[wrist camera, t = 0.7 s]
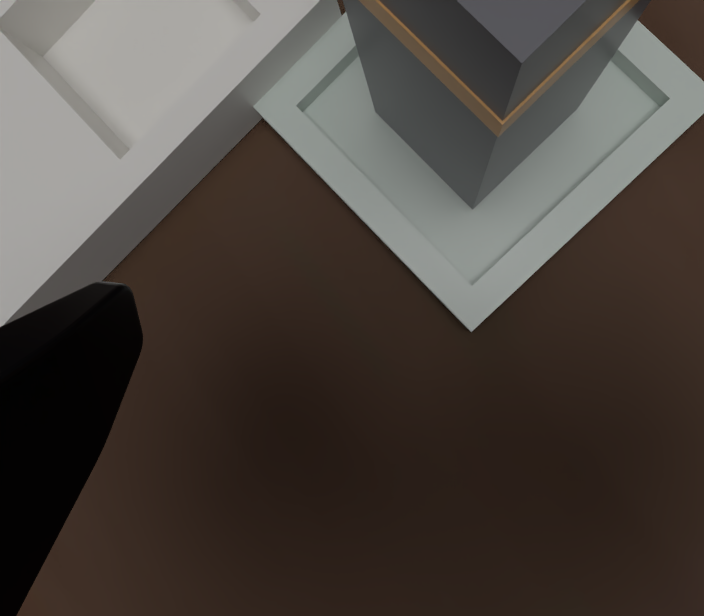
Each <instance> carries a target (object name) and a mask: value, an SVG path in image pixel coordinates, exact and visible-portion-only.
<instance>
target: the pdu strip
mask: <svg viewBox="0 0 704 616" xmlns="http://www.w3.org/2000/svg"><path fill="white" fill-rule="evenodd" d="M341 16H342V15H341V12H340V9H339V5H338V2H337V0H0V327H1V326H3V325H5V324H7V323H10V322H12V321H14V320H16V319H18V318H20V317H22V316H24V315H26V314H28V313H31V312H33V311H35V310H37V309H39V308H41V307H43V306H45V305H47V304H49V303H52V302H54V301H56V300H58V299H60V298H62V297H64V296H66V295H68V294H70V293H73V292H75V291H77V290H79V289H81V288H83V287H85V286H87V285H89V284H91V283H94V282H98V281H102V280H103V279H104V278H105V277H106V276H107V275H108V274H109V273H110V272H111V271H112V270H113V269H114V268H115V267H116V266H117V265H118V264H119V263H120V262H121V261H122V260H123V259H124V258H125V257H126V256H127V255H128V254H129V253H130V252H131V251H132V250H133V249H134V248H135V247H136V246H137V245H138V244H139V243H140V242H141V241H142V240H143V239H144V238H145V237H146V236H147V235H148V234H149V233H150V232H151V231H152V230H153V229H154V228H155V227H156V226H157V225H158V224H159V223H160V222H161V221H162V220H163V218H164V217H165V216H166V215H167V214H168V213H169V212H170V211H171V210H172V209H173V208H174V207H175V206H176V205H177V204H178V203H179V202H180V201H181V200H182V199H183V198H184V197H185V196H186V195H187V194H188V193H189V192H190V191H191V190H192V189H193V188H194V187H195V186H196V185H197V184H198V183H199V182H200V181H201V180H202V179H203V178H204V177H205V176H206V175H207V174H208V173H209V172H210V171H211V170H212V169H213V168H214V167H215V166H216V165H217V164H218V163H219V162H220V161H221V160H222V159H223V158H224V157H225V156H226V155H227V154H228V153H229V152H230V151H231V150H232V149H233V148H234V146H235V145H236V144H237V143H238V142H239V141H240V140H241V139H242V138H243V137H244V136H245V135H246V134H247V133H248V132H249V131H250V130H251V129H252V128H253V127H254V126H255V125H256V124H257V123H258V122H259V121H260V120H261V119H262V117H261V115H260V114H259V113H258V112H257V111H256V110H255V109H254V107H253V106H254V105H255V104H256V103H257V102H258V101H259V100H260V99H261V98H262V97H263V96H264V95H265V94H266V93H267V92H268V91H269V90H270V88H271V87H272V86H273V85H274V84H275V83H276V82H277V81H278V80H279V79H280V78H281V77H282V76H283V75H284V74H285V73H286V72H287V71H288V70H289V69H290V68H291V67H292V66H293V65H294V64H295V63H296V62H297V61H298V60H299V59H300V58H301V57H302V56H303V55H304V54H305V53H306V52H307V51H308V50H309V49H310V48H311V47H312V46H313V45H314V44H315V43H316V42H317V41H318V40H319V39H320V38H321V37H322V36H323V35H324V34H325V33H326V31H327V30H328V29H329V28H330V27H331V26H332V25H333V24H334V23H335V22H336V21H337V20H338V19H339V18H340V17H341Z"/></svg>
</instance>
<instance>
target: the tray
mask: <svg viewBox="0 0 704 616" xmlns="http://www.w3.org/2000/svg"><path fill="white" fill-rule="evenodd" d="M253 107H254V109H255V110H256V111H257V112H258V113H259V114H260V115H261V117H262V118H263V119H264V120H265V121H266V122H267V123H268V124H269V125H270V126H271V127H272V128H273V129H274V130H275V131H276V132H277V133H278V134H279V135H280V136H281V137H282V138H283V139H284V141H285V142H286V143H287V144H288V145H289V146H290V147H291V148H292V149H293V150H294V151H295V152H296V153H297V154H298V155H299V156H300V157H301V158H302V159H303V160H304V161H305V162H306V163H307V164H308V165H309V166H310V167H311V168H312V169H313V170H314V171H315V172H316V174H317V175H318V176H319V177H320V178H321V179H322V180H323V181H324V182H325V183H326V184H327V185H328V186H329V187H330V188H331V189H332V190H333V191H334V192H335V193H336V194H337V195H338V196H339V197H340V198H341V199H342V200H343V201H344V202H345V203H346V204H347V205H348V207H349V208H350V209H351V210H352V211H353V212H354V213H355V214H356V215H357V216H358V217H359V218H360V219H361V220H362V221H363V222H364V223H365V224H366V225H367V226H368V227H369V228H370V229H371V230H372V231H373V232H374V233H375V234H376V235H377V236H378V237H379V238H380V240H381V241H382V242H383V243H384V244H385V245H386V246H387V247H388V248H389V249H390V250H391V251H392V252H393V253H394V254H395V255H396V256H397V257H398V258H399V259H400V260H401V261H402V262H403V263H404V264H405V265H406V266H407V267H408V268H409V269H410V270H411V272H412V273H413V274H414V275H415V276H416V277H417V278H418V279H419V280H420V281H421V282H422V283H423V284H424V285H425V286H426V287H427V288H428V289H429V290H430V291H431V292H432V293H433V294H434V295H435V296H436V297H437V298H438V299H439V300H440V301H441V302H442V303H443V305H444V306H445V307H446V308H447V309H448V310H449V311H450V312H451V313H452V314H453V315H454V316H455V317H456V318H457V319H458V320H459V321H460V322H461V323H462V324H463V325H464V326H465V327H466V328H467V329H468V330H469V331H470V332H472V331H473V330H474V329H475V328H476V327H477V326H478V325H479V324H480V323H482V322H483V321H484V320H485V319H486V318H487V317H488V316H489V315H490V314H491V313H492V312H493V311H494V310H495V309H496V308H497V307H499V306H500V305H501V304H502V303H503V302H504V301H505V300H506V299H507V298H508V297H509V296H510V295H511V294H512V293H513V292H514V291H516V290H517V289H518V288H519V287H520V286H521V285H522V284H523V283H524V282H525V281H526V280H527V279H528V278H529V277H530V276H531V275H533V274H534V273H535V272H536V271H537V270H538V269H539V268H540V267H541V266H542V265H543V264H544V263H545V262H546V261H547V260H548V259H550V258H551V257H552V256H553V255H554V254H555V253H556V252H557V251H558V250H559V249H560V248H561V247H562V246H563V245H564V244H565V243H567V242H568V241H569V240H570V239H571V238H572V237H573V236H574V235H575V234H576V233H577V232H578V231H579V230H580V229H581V228H582V227H584V226H585V225H586V224H587V223H588V222H589V221H590V220H591V219H592V218H593V217H594V216H595V215H596V214H597V213H598V212H599V211H601V210H602V209H603V208H604V207H605V206H606V205H607V204H608V203H609V202H610V201H611V200H612V199H613V198H614V197H615V196H616V195H618V194H619V193H620V192H621V191H622V190H623V189H624V188H625V187H626V186H627V185H628V184H629V183H630V182H631V181H632V180H633V179H635V178H636V177H637V176H638V175H639V174H640V173H641V172H642V171H643V170H644V169H645V168H646V167H647V166H648V165H649V164H650V163H652V162H653V161H654V160H655V159H656V158H657V157H658V156H659V155H660V154H661V153H662V152H663V151H664V150H665V149H666V148H667V147H669V146H670V145H671V144H672V143H673V142H674V141H675V140H676V139H677V138H678V137H679V136H680V135H681V134H682V133H683V132H684V131H686V130H687V129H688V128H689V127H690V126H691V125H692V124H693V123H694V122H695V121H696V120H697V119H698V118H699V117H700V116H701V115H703V114H704V81H702V80H701V79H700V78H699V77H698V76H697V75H696V74H695V73H694V72H693V71H692V70H691V69H690V68H688V67H687V66H686V65H685V64H684V63H683V62H682V61H681V60H680V59H679V58H678V57H677V56H676V55H674V54H673V53H672V52H671V51H670V50H669V49H668V48H667V47H666V46H665V45H664V44H663V43H662V42H660V41H659V40H658V39H657V38H656V37H655V36H654V35H653V34H652V33H651V32H650V31H649V30H648V29H646V28H645V27H644V26H643V25H642V24H641V23H640V22H639V21H638V20H637V21H636V23H635V24H634V26H633V27H632V29H631V30H630V32H629V33H628V35H627V36H626V38H625V39H624V41H623V42H622V44H621V45H620V47H619V48H618V50H617V51H616V53H615V54H614V56H613V57H612V58H611V60H610V61H609V63H608V64H607V66H606V67H605V69H604V70H603V72H602V73H601V75H600V76H599V78H598V79H597V81H596V82H595V84H594V85H593V87H592V88H591V90H590V91H589V92H588V94H587V95H586V97H585V98H584V100H583V101H582V103H581V104H580V106H579V107H578V109H577V110H576V111H575V112H574V113H573V114H571V115H570V116H569V117H568V118H567V119H566V120H565V121H564V122H563V123H562V124H561V125H560V126H559V127H558V128H557V129H556V130H555V131H554V132H553V133H552V134H551V135H550V136H549V137H548V138H547V139H545V140H544V141H543V142H542V143H541V144H540V145H539V146H538V147H537V148H536V149H535V150H534V151H533V152H532V153H531V154H530V155H529V156H528V157H527V158H526V159H525V160H524V161H523V162H522V163H521V164H520V165H518V166H517V167H516V168H515V169H514V170H513V171H512V172H511V173H510V174H509V175H508V176H507V177H506V178H505V179H504V180H503V181H502V182H501V183H500V184H499V185H498V186H497V187H496V188H495V189H494V190H492V191H491V192H490V193H489V194H488V195H487V196H486V197H485V198H484V199H483V200H482V201H481V202H480V203H479V204H478V205H477V206H476V207H475V208H474V209H473V210H472V209H471V208H470V207H469V206H468V205H467V204H466V203H465V202H464V201H463V200H462V199H461V198H460V197H459V196H458V195H457V194H456V193H455V192H454V191H453V190H452V189H451V188H450V187H449V186H448V185H447V184H446V183H445V182H444V181H443V180H442V179H441V177H440V176H439V175H438V174H437V173H436V172H435V171H434V170H433V169H432V168H431V167H430V166H429V165H428V164H427V163H426V162H425V161H424V160H423V159H422V158H421V157H420V156H419V155H418V154H417V153H416V152H415V151H414V150H413V149H412V148H411V147H410V146H409V145H408V144H407V143H406V142H405V141H404V140H403V139H402V138H401V137H400V136H399V135H398V134H397V133H396V132H395V131H394V130H393V129H392V128H391V127H390V126H389V125H388V124H387V123H386V122H385V121H384V120H383V119H382V118H381V117H380V116H379V115H378V114H377V113H376V112H375V109H374V105H373V102H372V99H371V95H370V92H369V88H368V85H367V82H366V78H365V75H364V71H363V68H362V64H361V61H360V58H359V54H358V51H357V47H356V44H355V41H354V37H353V34H352V30H351V27H350V23H349V20H348V17H347V13H346V12H345V13H344V14H343V15H342V16H341V17H340V18H339V19H338V20H337V21H336V22H335V23H334V24H333V25H332V26H331V27H330V28H329V29H328V30H327V31H326V33H325V34H324V35H323V36H322V37H321V38H320V39H319V40H318V41H317V42H316V43H315V44H314V45H313V46H312V47H311V48H310V49H309V50H308V51H307V52H306V53H305V54H304V55H303V56H302V57H301V58H300V59H299V60H298V61H297V62H296V63H295V64H294V65H293V66H292V67H291V68H290V69H289V70H288V71H287V72H286V73H285V74H284V75H283V76H282V77H281V78H280V79H279V80H278V81H277V82H276V83H275V84H274V85H273V86H272V87H271V88H270V90H269V91H268V92H267V93H266V94H265V95H264V96H263V97H262V98H261V99H260V100H259V101H258V102H257V103H256V104H255V105H254V106H253Z"/></svg>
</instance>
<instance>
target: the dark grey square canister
mask: <svg viewBox="0 0 704 616" xmlns="http://www.w3.org/2000/svg"><path fill="white" fill-rule="evenodd" d="M650 1H651V0H343V3H344V6H345V10H346V13H347V17H348V20H349V23H350V27H351V30H352V34H353V37H354V41H355V44H356V47H357V51H358V54H359V58H360V61H361V64H362V68H363V71H364V75H365V78H366V82H367V85H368V88H369V92H370V95H371V99H372V102H373V105H374V109H375V112H376V113H377V114H378V115H379V116H380V117H381V118H382V119H383V120H384V121H385V122H386V123H387V124H388V125H389V126H390V127H391V128H392V129H393V130H394V131H395V132H396V133H397V134H398V135H399V136H400V137H401V138H402V139H403V140H404V141H405V142H406V143H407V144H408V145H409V146H410V147H411V148H412V149H413V150H414V151H415V152H416V153H417V154H418V155H419V156H420V157H421V158H422V159H423V160H424V161H425V162H426V163H427V164H428V165H429V166H430V167H431V168H432V169H433V170H434V171H435V172H436V173H437V174H438V175H439V176H440V177H441V179H442V180H443V181H444V182H445V183H446V184H447V185H448V186H449V187H450V188H451V189H452V190H453V191H454V192H455V193H456V194H457V195H458V196H459V197H460V198H461V199H462V200H463V201H464V202H465V203H466V204H467V205H468V206H469V207H470V208H471V209H472V210H473V209H474V208H475V207H476V206H477V205H478V204H479V203H480V202H481V201H482V200H483V199H484V198H485V197H486V196H487V195H488V194H489V193H490V192H491V191H492V190H494V189H495V188H496V187H497V186H498V185H499V184H500V183H501V182H502V181H503V180H504V179H505V178H506V177H507V176H508V175H509V174H510V173H511V172H512V171H513V170H514V169H515V168H516V167H517V166H518V165H520V164H521V163H522V162H523V161H524V160H525V159H526V158H527V157H528V156H529V155H530V154H531V153H532V152H533V151H534V150H535V149H536V148H537V147H538V146H539V145H540V144H541V143H542V142H543V141H544V140H545V139H547V138H548V137H549V136H550V135H551V134H552V133H553V132H554V131H555V130H556V129H557V128H558V127H559V126H560V125H561V124H562V123H563V122H564V121H565V120H566V119H567V118H568V117H569V116H570V115H571V114H573V113H574V112H575V111H576V110H577V109H578V107H579V106H580V104H581V103H582V101H583V100H584V98H585V97H586V95H587V94H588V92H589V91H590V90H591V88H592V87H593V85H594V84H595V82H596V81H597V79H598V78H599V76H600V75H601V73H602V72H603V70H604V69H605V67H606V66H607V64H608V63H609V61H610V60H611V58H612V57H613V56H614V54H615V53H616V51H617V50H618V48H619V47H620V45H621V44H622V42H623V41H624V39H625V38H626V36H627V35H628V33H629V32H630V30H631V29H632V27H633V26H634V24H635V23H636V21H637V20H638V19H639V17H640V16H641V14H642V13H643V11H644V10H645V8H646V7H647V5H648V4H649V2H650Z"/></svg>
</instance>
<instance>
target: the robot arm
mask: <svg viewBox="0 0 704 616" xmlns="http://www.w3.org/2000/svg"><path fill="white" fill-rule="evenodd" d="M142 344H143V334H142V329H141V325H140V320H139V316H138V312H137V308H136V304H135V300H134V296H133V293H132V291H131V289H130V287H128V286H127V285H125V284H122V283H113V282H103V281H98V282H94V283H91V284H89V285H87V286H85V287H83V288H81V289H79V290H77V291H75V292H73V293H70V294H68V295H66V296H64V297H62V298H60V299H58V300H56V301H54V302H52V303H49V304H47V305H45V306H43V307H41V308H39V309H37V310H35V311H33V312H31V313H28V314H26V315H24V316H22V317H20V318H18V319H16V320H14V321H12V322H10V323H7V324H5V325H3V326H1V327H0V616H16V615H17V613H18V611H19V610H20V608H21V606H22V604H23V602H24V600H25V598H26V596H27V594H28V592H29V590H30V588H31V587H32V585H33V583H34V581H35V579H36V577H37V575H38V573H39V571H40V569H41V567H42V565H43V564H44V562H45V560H46V558H47V556H48V554H49V552H50V550H51V548H52V546H53V544H54V542H55V541H56V539H57V537H58V535H59V533H60V531H61V529H62V527H63V525H64V523H65V521H66V519H67V518H68V516H69V514H70V512H71V510H72V508H73V506H74V504H75V502H76V500H77V498H78V496H79V495H80V493H81V491H82V489H83V487H84V485H85V483H86V481H87V479H88V477H89V475H90V473H91V472H92V470H93V468H94V466H95V464H96V462H97V460H98V458H99V456H100V454H101V452H102V449H103V447H104V445H105V443H106V440H107V438H108V435H109V433H110V431H111V428H112V425H113V423H114V420H115V418H116V415H117V412H118V410H119V407H120V405H121V402H122V399H123V397H124V394H125V392H126V389H127V386H128V384H129V381H130V379H131V376H132V373H133V371H134V368H135V366H136V363H137V360H138V358H139V355H140V352H141V349H142Z"/></svg>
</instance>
